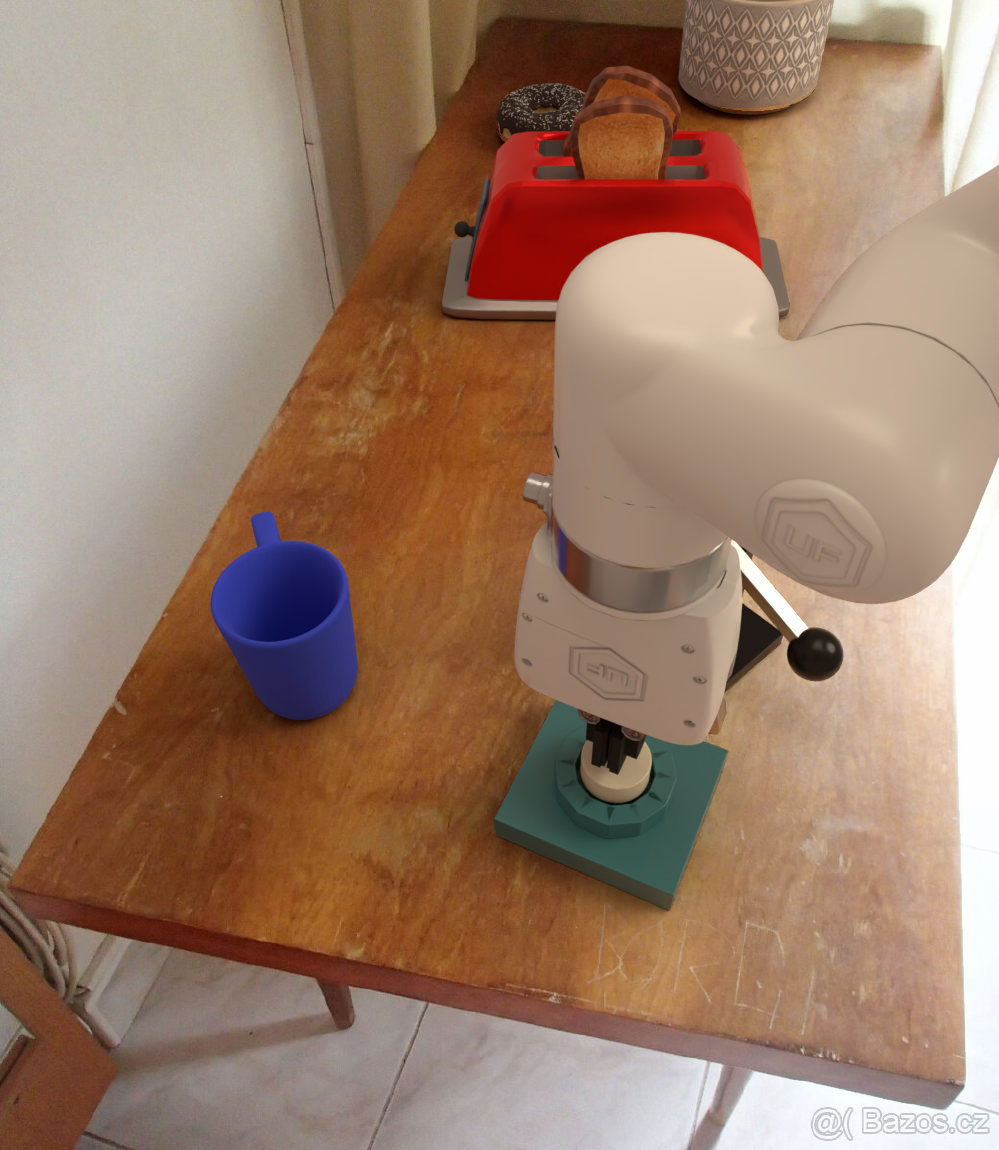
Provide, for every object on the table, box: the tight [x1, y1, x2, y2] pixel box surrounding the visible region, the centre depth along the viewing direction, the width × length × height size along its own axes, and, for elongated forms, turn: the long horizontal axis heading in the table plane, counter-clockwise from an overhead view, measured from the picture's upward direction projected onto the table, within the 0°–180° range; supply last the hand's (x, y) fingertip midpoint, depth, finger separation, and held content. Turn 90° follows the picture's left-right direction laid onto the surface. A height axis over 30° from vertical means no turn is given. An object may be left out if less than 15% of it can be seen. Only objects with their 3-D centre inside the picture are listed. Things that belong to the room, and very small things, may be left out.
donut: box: [495, 82, 586, 143], centre depth 113 cm, size 11×12×4 cm
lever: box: [731, 540, 845, 683], centre depth 59 cm, size 13×3×3 cm, turn 41°
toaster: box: [441, 65, 791, 321], centre depth 88 cm, size 32×13×19 cm, turn 86°
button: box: [581, 740, 652, 803], centre depth 57 cm, size 4×4×2 cm
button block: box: [493, 699, 729, 911], centre depth 59 cm, size 11×10×4 cm
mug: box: [210, 511, 359, 721], centre depth 64 cm, size 8×12×10 cm
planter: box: [677, 0, 835, 116], centre depth 115 cm, size 16×16×13 cm
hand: (614, 748), depth 56 cm, fingers closed
